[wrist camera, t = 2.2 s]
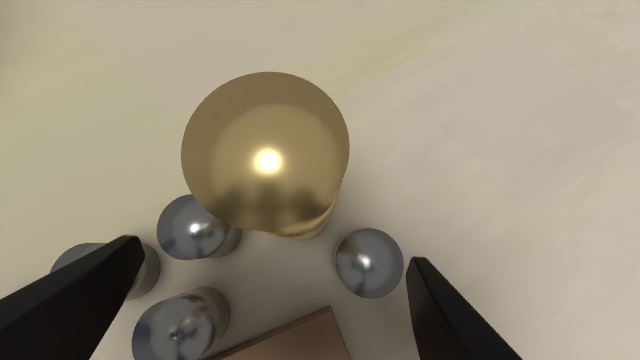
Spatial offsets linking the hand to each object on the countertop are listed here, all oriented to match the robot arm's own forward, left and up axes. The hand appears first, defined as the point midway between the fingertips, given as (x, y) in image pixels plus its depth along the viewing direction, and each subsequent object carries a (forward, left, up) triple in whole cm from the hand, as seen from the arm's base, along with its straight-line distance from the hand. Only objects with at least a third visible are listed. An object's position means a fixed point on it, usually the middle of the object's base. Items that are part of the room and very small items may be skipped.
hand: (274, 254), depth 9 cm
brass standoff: (+2, -1, -10) cm, 10 cm away
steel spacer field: (0, +3, -10) cm, 10 cm away
